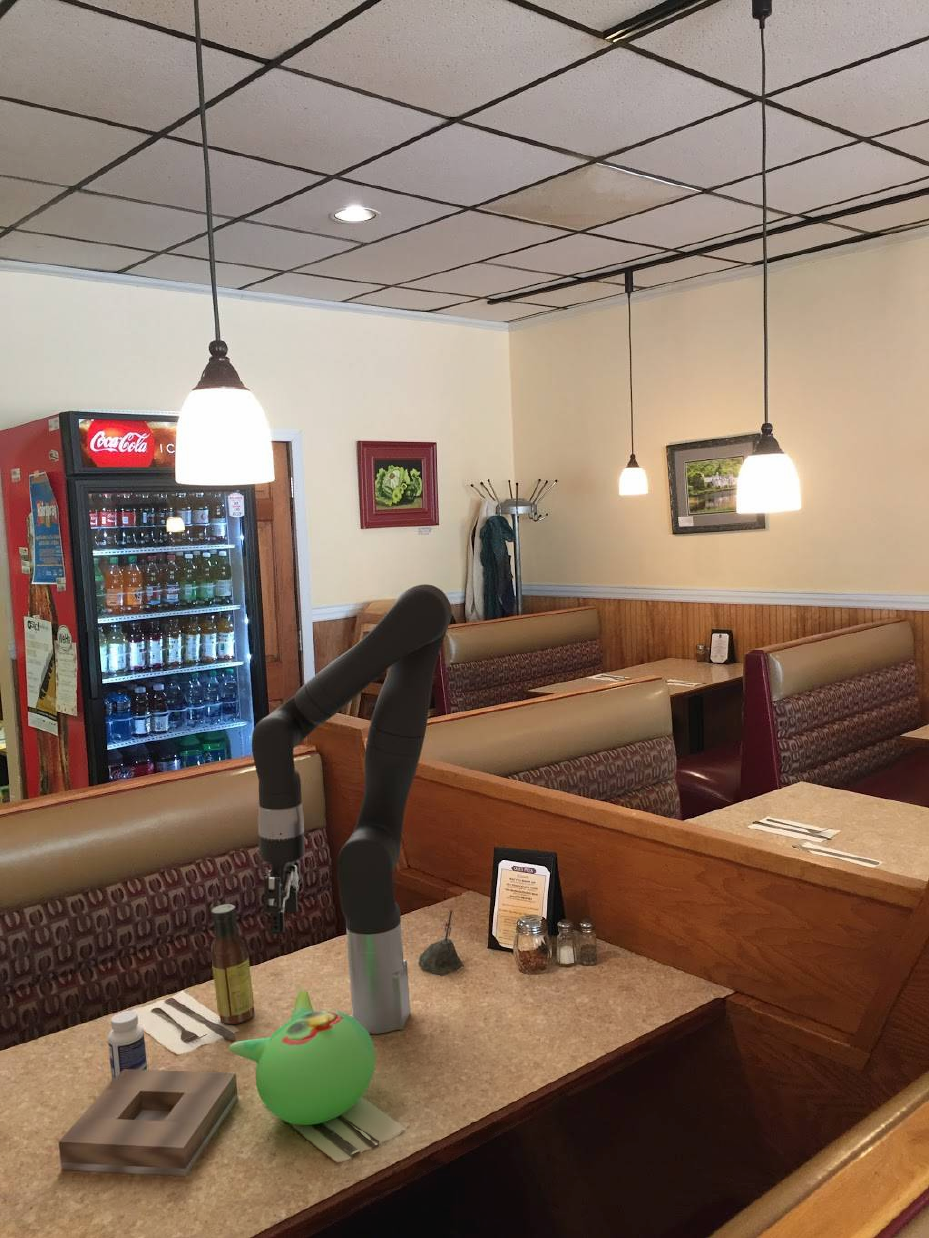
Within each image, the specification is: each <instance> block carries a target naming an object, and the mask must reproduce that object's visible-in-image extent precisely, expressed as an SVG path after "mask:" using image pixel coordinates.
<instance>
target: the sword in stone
mask: <svg viewBox="0 0 929 1238" xmlns="http://www.w3.org/2000/svg"><path fill="white" fill-rule="evenodd" d="M452 914H453V910H452V909H450V911H449V916H448V921H447V923H445V925H444V927H445V928H444V932H445V938H444V939H440V940H438V941H436V942H434V943H431V944H430V945H429V946H428V947H427V948H426V949H425V950H424V951H423V952H422V953H421V954H420V955H419V960H418V966H419V968H420V967H421V968H420V970H421V969H422V970H423V972H425V971H426V972H425V973H428V972H429V974H431V973H432V975H435V976H436V975H437V976H439V975H440V976H439V977H444V976H447V975H450V974H453V973H455V972H458V971H460V970H461V969H462V968H463V967H464V966H465V964H463V963H462V961H461V959H460V957H459V954H458V953H457V949H456V946H455V944H454V942H453V941H452V939H450V938H448V937H449V936H450V935H451V932H452V927H451V920H452ZM462 966H463V967H462ZM461 967H462V968H461ZM422 970H421V971H422Z"/></svg>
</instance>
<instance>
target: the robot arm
mask: <svg viewBox="0 0 929 1238" xmlns="http://www.w3.org/2000/svg"><path fill="white" fill-rule="evenodd" d="M452 615H453V614H452V605H451V602H450V600H449V598H448V597H447V595H446V593H444V592H443V590H442V589H440V588H439V587H437V586H435V585H432V584H431V585H430V584H427V583H425V584H419V585H414V586H412V587H410V588H408V589H407V590H405V591H403V593H401V594H400V595H399V596H398V597H397V598H396V599H395V601H394V604H393V605H392V606H391V608H390V609H389V610H388V611H387V612H386V613H385V615H384V616H383V617H382V618H381V619H380V621H379V622H378V623H377V624H376V625H375V626H373V628H372V630H370V631H369V633H367V634H365V636H364V637H362V639H361V640H359V642H357V643H356V644H355V645H353V646H352V647H351V648H349V649H347V651H345V652H344V653H343V654H342V653H341V655H340V656H338V657H337V658H336V659H334V660H333V661H331V662H330V663H329V664H327V665H326V666H325V667H324V668H322V669H321V670H320V671H318V672H317V673H316V674H315V675H314V676H313V677H312V678H311V679H309V680H308V681H306V683H304V684H303V685H302V686H301V687H300V688H299V689H298V690H297V692H296V693H295V694H294V695H293V696H292V697H290V698H289V699H288V700H287V701H285V702H284V703H282V704H281V705H280V706H279V707H277V708H275V710H273V711H272V712H270V713H269V714H268V715H266V716H265V717H263V718H262V719H261V720H260V721H258V722H257V723H256V725H255V727H254V728H253V731H252V735H251V736H252V737H251V752H252V753H251V754H252V758H253V762H254V766H255V767H254V768H255V772H256V775H257V778H258V817H257V824H258V827H257V828H258V850H259V851H258V854H259V858H260V860H261V861H262V862H264V863H267V864H269V865H270V870H268V874H267V876H265V877H264V878H263V888H264V889H263V890H264V891H263V892H264V896H263V897H264V908H263V909H264V913H265V914H269V927H270V933H271V934H272V935H283V934H284V933H285V930H286V929H285V928H286V927H285V914H286V915H295V914H296V913H297V912H298V891H299V888H300V886H299V885H300V884H302V883H301V882H302V874H301V859H302V858H303V857H305V854H306V853H305V849H306V848H305V825H304V824H305V819H304V816H305V815H304V811H303V803H302V801H303V800H302V783H301V782H302V781H301V775H300V772H299V770H297V769H296V768H295V759H294V756H295V755H294V749H295V748H296V747H297V746H298V745H299V744H300V743H301V742H302V741H304V740H305V739H306V738H307V737H308V736H309V735H311V733H313V732H314V730H316V729H317V728H318V727H319V726H320V725H322V724H323V723H325V722H326V721H328V720H330V719H331V718H332V717H334V716H335V715H336V714H337V713H339V712H340V711H341V710H342V709H344V708H345V707H346V706H347V705H349V703H351V702H352V701H353V700H354V699H355V698H357V696H358V695H359V694H361V693H362V692H363V691H364V690H365V689H366V688H367V687H369V685H370V684H371V683H373V682H374V680H375V679H376V678H378V677H379V676H380V675H381V674H383V672H385V671H386V670H387V669H388V671H387V674H386V676H385V679H384V682H383V685H382V687H381V689H380V692H379V693H378V697H377V700H376V703H375V706H374V709H373V712H372V716H371V719H370V722H369V728H368V734H367V739H366V742H365V751H364V783H365V784H364V794H363V800H362V804H361V808H360V811H359V815H358V818H357V821H356V823H355V826H354V829H353V831H352V834H351V835H350V837H349V838H348V839H347V841H346V842H345V843H344V845H343V846H342V847H341V849H340V851H339V853H338V856H337V880H338V881H337V882H338V891H339V899H340V907H341V912H342V914H343V916H344V919H345V926H346V927H345V928H346V944H347V956H348V971H349V981H350V982H349V983H350V993H351V996H350V997H351V1007H352V1011H351V1015H352V1017H353V1018H355V1019H356V1020H357V1021H359V1022H360V1023H361V1024H362V1025H363V1026H364V1027H365V1029H366V1030H367V1031H368V1033H369V1034H370V1035H371V1034H375V1035H376V1034H377V1035H378V1034H379V1035H380V1034H386V1033H390V1032H393V1031H401V1030H404V1028H405V1026H406V1023H407V1022H408V1019H409V1017H410V1014H411V1002H410V1001H411V1000H410V985H409V984H410V983H409V974H408V962H407V961H408V960H406V959H404V949H403V947H404V946H403V934H402V933H403V932H402V918H401V907H400V906H399V905H400V904H399V903H397V902H396V898H395V897H396V896H395V887H394V874H393V873H394V870H395V869H396V866H397V865H398V862H399V859H400V857H401V856H400V855H401V847H402V846H401V844H402V834H403V827H404V826H403V825H404V820H405V819H404V817H405V810H406V805H407V801H408V797H409V794H410V791H411V788H412V786H413V782H414V779H415V775H416V772H417V769H418V765H419V761H420V758H421V753H422V750H423V746H424V740H425V737H426V731H427V724H428V720H429V714H430V706H431V699H432V689H433V682H434V674H435V670H436V665H437V661H438V658H439V654H440V651H441V648H442V645H443V641H444V639H445V637H446V634H447V632H448V629H449V626H450V624H451V620H452ZM274 901H276V903H275V904H274Z"/></svg>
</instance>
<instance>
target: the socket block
mask: <svg viewBox="0 0 929 1238" xmlns="http://www.w3.org/2000/svg"><path fill="white" fill-rule="evenodd" d="M238 1094H239V1093H238V1084H237V1074H236V1072H216V1071H190V1070H188V1071H186V1070H161V1069H159V1070H158V1069H147V1070H137V1069H123V1071H122V1072H121V1073H120V1074H119V1075H118V1076H117V1077H116V1078H115V1079H114V1081H113V1080H112V1082H111V1083H110V1084H109V1085H108V1086H107V1087H106V1088H105V1089H104V1090H103V1091H102V1093H100V1095H99V1096H98V1097H97V1098H96V1100H95V1101H94V1102H93V1103H92V1104H91V1105H90V1106H89V1107H88V1109H86V1111H84V1113H83V1114H82V1115H81V1116H80V1117H79V1118H78V1120H77V1121H76V1122H75V1123H74V1124H73V1125H72V1126H71V1127H70V1128H69V1129H68V1131H66V1133H65V1134H64V1135H63V1136H62V1137H61V1138H60V1139H59V1140H58V1148H59V1149H58V1150H59V1158H60V1167H61V1170H65V1171H85V1172H87V1171H89V1172H104V1173H106V1172H107V1173H120V1174H121V1173H125V1174H137V1175H138V1174H140V1175H141V1174H142V1175H158V1176H159V1175H160V1176H179V1177H187V1176H188V1175H189V1173H190V1171H191V1170H192V1168H193V1167H194V1165H195V1163H196V1162H197V1160H198V1159H199V1158H200V1156H201V1155H202V1153H203V1151H204V1150H205V1148H206V1147H207V1145H209V1142H210V1141H211V1139H212V1138H213V1137H214V1135H215V1134H216V1132H217V1130H218V1129H219V1128H220V1126H221V1124H222V1123H223V1121H224V1120H225V1119H226V1117H227V1115H228V1114H229V1112H230V1111H231V1110H232V1108H233V1106H234V1105H235V1103H236V1102H237V1101H238V1099H239V1098H238V1097H239V1096H238Z"/></svg>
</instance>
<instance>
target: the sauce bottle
mask: <svg viewBox="0 0 929 1238" xmlns="http://www.w3.org/2000/svg"><path fill="white" fill-rule="evenodd" d="M236 916H237V910H236V906H235V905H233V904H229V903H226V904H221V905H220V904H219V905H217V906H215V907H213V908H212V910H211V917H212V919H213V924H214V935H215V936H214V938H213V940H212V942H211V945H210V956H211V961H212V962H211V966H212V967H211V969H212V974H213V976H212V977H213V981H214V982H213V983H214V989H215V990H214V991H215V1000H216V1006H217V1013H218V1015H219V1019H220V1021H221V1022H222V1023H223V1024H229V1025H235V1024H242V1023H244V1022H246V1021H249V1020H250V1019H251V1018H252V1017H253V1016H254V1015H255V1007H254V1006H255V1001H254V1000H255V999H254V992H253V991H254V990H253V982H252V974H251V969H250V968H251V967H250V959H249V952H248V949H247V947H246V944H245V943H244V941H243V939H242V938H241V935H240V932H239V931H238V926H237V917H236Z"/></svg>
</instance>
